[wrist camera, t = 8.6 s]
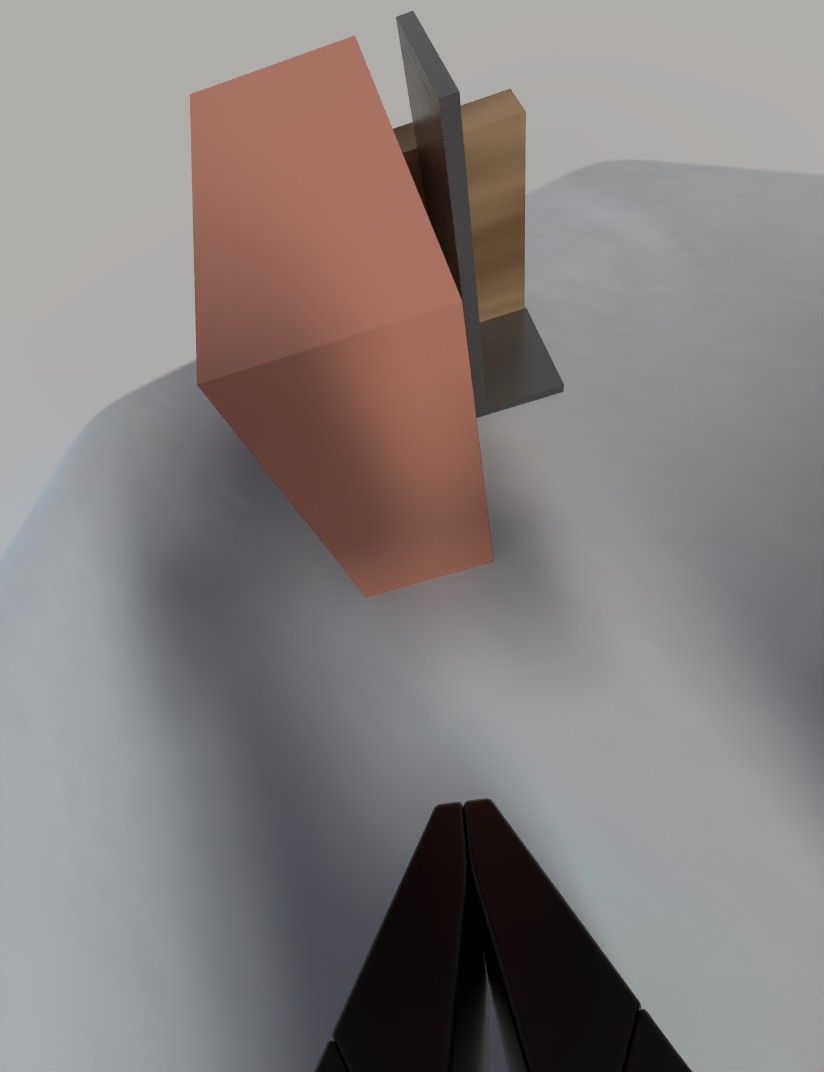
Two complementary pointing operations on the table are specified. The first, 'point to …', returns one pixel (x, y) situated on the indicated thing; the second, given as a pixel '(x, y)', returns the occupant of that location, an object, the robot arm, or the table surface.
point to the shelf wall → (490, 196)
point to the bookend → (467, 236)
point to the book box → (335, 319)
